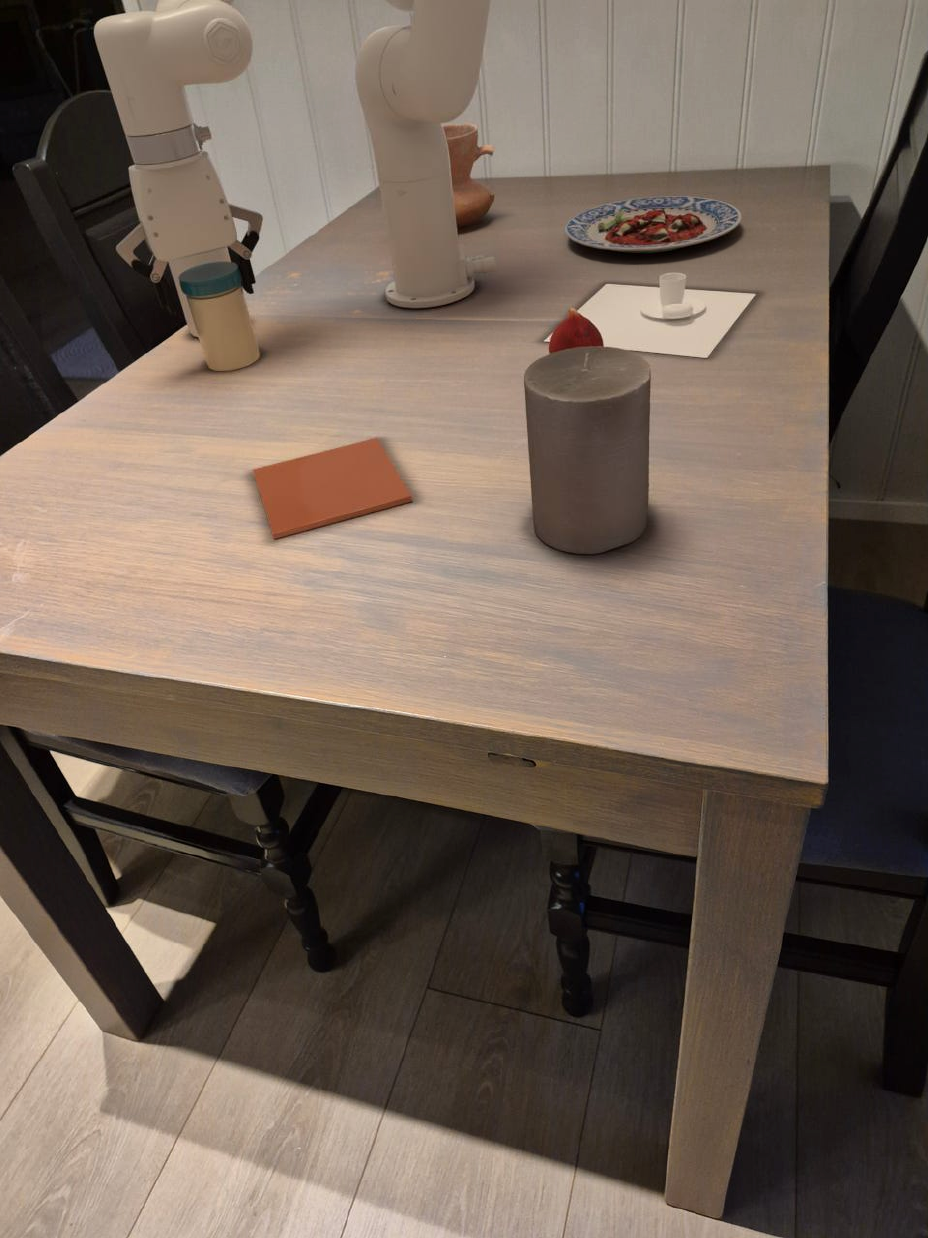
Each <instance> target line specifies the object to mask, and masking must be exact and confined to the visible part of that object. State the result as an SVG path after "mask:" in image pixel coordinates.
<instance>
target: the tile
mask: <svg viewBox="0 0 928 1238" xmlns="http://www.w3.org/2000/svg"><path fill="white" fill-rule="evenodd" d="M252 472H253V476H254V479H255V482H256V483H255V484H256V486H257V488H258V489H257V490H258V492H259V495H260V499H261V501H262V502H261V503H262V505H263V508H264V511H265V514H266V517H267V521H268V524H269V528H270V531H271V534H272V537H273V539H274V540H276V539H280V538H283V537H288V536H290V535H291V536H292V535H294V534H299V533H301V532H307V531H308V530H312V529H317V528H320V527H323V526H327V525H331V524H335V523H339V522H342V521H345V520H349V519H352V518H356V517H361V516H364V515H367V514H370V513H375V512H378V511H382V510H386V509H389V508H393V507H396V506H400V505H405V504H407V503H411V502H413V497H412V495H411V493H410V491H409V489H408V488H407V486H406V484H405V482H404V481H403V479H402V477H401V475H399V472H398V471H397V469H396V467H395V465H394V463H393V462H392V461H391V459H390V457H389V456H388V454H387V452H386V450H385V449H384V447H383V445H382V444H381V442H380V440H379V439H378V437H374V438H371V439H366V440H363V441H358V442H355V443H351V444H346V445H343V446H340V447H336V448H335V447H334V448H331V449H327V450H324V451H320V452H316V453H313V454H308V455H305V456H301V457H298V458H293V459H289V460H285V461H281V462H278V463H274V464H270V465H265V466H261V467H258V468H254V469H252Z"/></svg>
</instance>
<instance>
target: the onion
mask: <svg viewBox="0 0 928 1238" xmlns="http://www.w3.org/2000/svg"><path fill="white" fill-rule="evenodd" d="M577 310H578V309H576V308H574V307H570V308H569V309H568V314H567V317H565V319H563V320H562V321H561V322H560V323H558V325H557V326H556V327H555V329H554V331H552V333H553V334H552V333H551V334H552V336H551V339H550V342H548V354H550V353H554V352H558V351H561V350H566V349H571V348H576V347H589V346H602V347H604V344H603V339H602V336H601V333H600V332H599V330H598V329H597V328H596V326H595V325H594V324H593V323H592V322H591V321H590V320H589V319H587V318H585V317H583V316H582V315H581V314H579V313H578V312H577Z"/></svg>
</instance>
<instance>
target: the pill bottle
mask: <svg viewBox="0 0 928 1238" xmlns="http://www.w3.org/2000/svg"><path fill="white" fill-rule="evenodd" d="M228 248H229V247H226V248H223V249H219V250H216V251H212V252H208V253H204V254H200V255H196V256H192V257H187V258H183V259H179V260H175V261H168V265H169V269H170V272H171V275H172V277H173V281H174V285H175V289H176V291H177V295H178V299H179V302H180V305H181V308H182V311H183V315H184V319H185V322H186V324H187V328H188V330H189V333H190V334H191V335H192V336H193V337H196V338H199V336H198V333H197V330H196V327H195V323H194V320H193V317H192V314H191V311H190V307H189V304H188V301H187V298H186V295H185V294H184V293H183V292H182V290H181V287H180V284H179V282H180V281H179V278H178V277H179V275H180V274H181V273H182V272H184V271H186V270H188V269H190V268H193V267H195V266H199V265H203V264H207V263H213V262H232V260H231V256H230V253H229V252H230V251H229V249H228Z"/></svg>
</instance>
